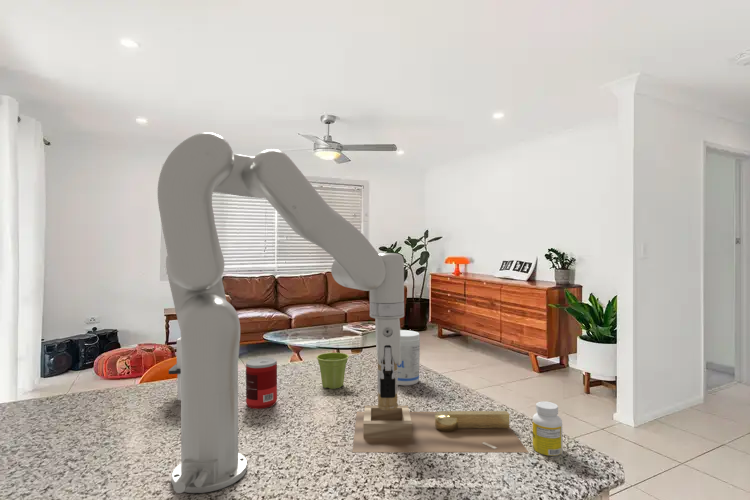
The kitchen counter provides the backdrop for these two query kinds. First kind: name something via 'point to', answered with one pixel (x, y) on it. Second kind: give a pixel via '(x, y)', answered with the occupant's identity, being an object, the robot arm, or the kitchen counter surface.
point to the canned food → (261, 383)
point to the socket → (387, 422)
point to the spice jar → (392, 402)
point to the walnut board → (438, 438)
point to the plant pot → (332, 369)
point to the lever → (471, 419)
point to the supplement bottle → (547, 430)
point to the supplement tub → (409, 358)
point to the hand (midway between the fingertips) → (387, 392)
